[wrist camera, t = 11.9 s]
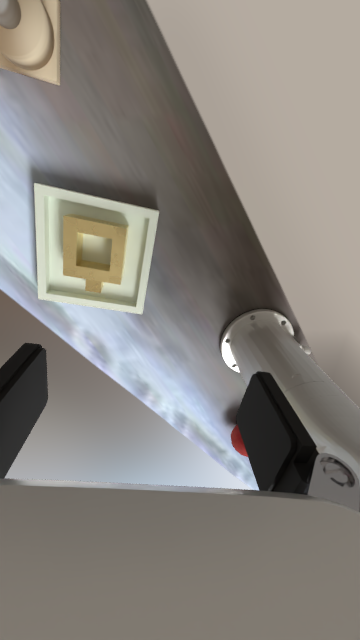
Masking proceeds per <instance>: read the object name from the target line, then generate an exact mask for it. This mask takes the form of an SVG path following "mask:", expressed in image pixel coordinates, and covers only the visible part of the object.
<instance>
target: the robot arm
mask: <svg viewBox="0 0 360 640" xmlns="http://www.w3.org/2000/svg"><path fill="white" fill-rule="evenodd" d="M220 351H221V354H222V357H223V359H224V361H225V363H226V364H227V365H228V366H229V367H230V368H231V369H233V370H235V371H237V372H240V373H241V376H242V378H243V380H244V382H245V384H246V386H247V389H246V392H245V395H244V397H243V400H242V402H241V405H240V408H239V410H238V413H237V416H236V422H237V425H238V428H239V431H240V434H241V437H242V440H243V443H244V446H245V449H246V452H247V455H248V458H249V461H250V464H251V467H252V470H253V472H254V475H255V478H256V481H257V484H258V487H259V490H260V491H258V490H240V489H223V488H205V487H187V486H168V485H167V486H166V485H148V484H128V483H107V482H84V481H63V480H37V479H4V477H5V476H6V474H7V472H8V470H9V469H10V467H11V465H12V463H13V462H14V460H15V458H16V456H17V455H18V453H19V451H20V449H21V448H22V446H23V444H24V442H25V441H26V439H27V437H28V435H29V434H30V432H31V430H32V428H33V427H34V425H35V423H36V421H37V419H38V418H39V416H40V414H41V413H42V411H43V409H44V407H45V406H46V403H47V400H48V389H47V365H46V364H47V363H46V350H45V349H44V348H42V346H41V345H39V344H32V343H25V344H23V345H22V346H21V348H19V349H18V351H17V352H16V353H15V354H14V355H13V356H12V357H11V358H10V359H9V360H8V361H7V362H6V363H5V364H4V365H3V366H2V367H1V368H0V640H360V408H359V407H358V406H357V405H356V404H355V403H353V402H352V400H351V399H350V398H349V397H348V396H346V394H345V393H344V392H343V391H342V390H341V389H340V388H339V387H338V386H337V385H336V384H335V383H334V382H333V381H332V380H331V379H330V378H329V377H328V376H327V375H326V374H325V373H324V372H323V371H322V369H321V368H320V367H319V366H318V365H317V364H316V363H315V362H314V361H313V360H312V359H311V358H310V357H309V356H308V355H307V354H310V353H311V347H309V346H303V345H302V346H301V345H300V344H299V343H298V342H297V341H296V340H295V339H294V330H293V327H292V325H291V323H290V322H289V321H288V319H287V318H285V317H284V316H283V315H282V314H280V313H279V312H276V311H274V310H269V309H257V310H252V311H249V312H247V313H244V314H242V315H241V316H239V317H237V318H236V319H235V320H234V321H232V322H231V323H230V325H229V326H228V327H227V328H226V330H225V331H224V333H223V336H222V338H221V343H220Z"/></svg>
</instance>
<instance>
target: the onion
mask: <svg viewBox="0 0 360 640" xmlns="http://www.w3.org/2000/svg"><path fill="white" fill-rule="evenodd" d="M231 441H232V445H233V447H234V448H235V450H236V451H237V452H239V453H240V454H241V455H243V456H247V457H248V455H247V452H246V449H245V446H244V443H243V440H242V437H241V434H240V431H239V428H238V425H236V426H235V427H234V429H233V431H232V433H231Z"/></svg>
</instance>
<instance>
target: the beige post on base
mask: <svg viewBox="0 0 360 640" xmlns="http://www.w3.org/2000/svg"><path fill="white" fill-rule="evenodd" d="M0 68H3V69H6V70H9V71H13V72H16V73H19V74H23V75H26V76H29V77H33V78H36V79H39V80H42V81H46V82H49V83H52V84H56V85H59V86H60V1H59V0H0Z"/></svg>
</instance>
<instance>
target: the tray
mask: <svg viewBox="0 0 360 640" xmlns="http://www.w3.org/2000/svg"><path fill="white" fill-rule="evenodd" d="M34 197H35V224H36V251H37V278H38V299H42V300H49V301H56V302H62V303H69V304H76V305H82V306H89V307H96V308H103V309H109V310H116V311H123V312H130V313H136V314H142V313H143V307H144V301H145V295H146V289H147V282H148V276H149V270H150V264H151V258H152V252H153V246H154V240H155V234H156V228H157V222H158V216H159V210H155V209H150V208H146V207H142V206H137V205H133V204H128V203H124V202H120V201H115V200H111V199H107V198H102V197H98V196H94V195H89V194H85V193H81V192H76V191H72V190H67V189H63V188H59V187H54V186H50V185H46V184H40V183H34ZM67 214H76V215H81V216H86V217H90V218H95V219H100V220H105V221H109V222H114V223H119V224H124V225H128V226H129V229H128V237H127V246H126V255H125V263H124V272H123V279H122V282H121V285H118V284H112V283H106V282H104V285H103V290H102V292H101V293H96V292H90V291H85V284H86V279H82V278H76V277H70V276H64V275H63V215H67ZM111 250H112V239H109V238H104V237H99V236H94V235H89V234H84V233H83V250H82V260H86V261H91V262H97V263H102V264H108V265H110V261H111Z"/></svg>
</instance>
